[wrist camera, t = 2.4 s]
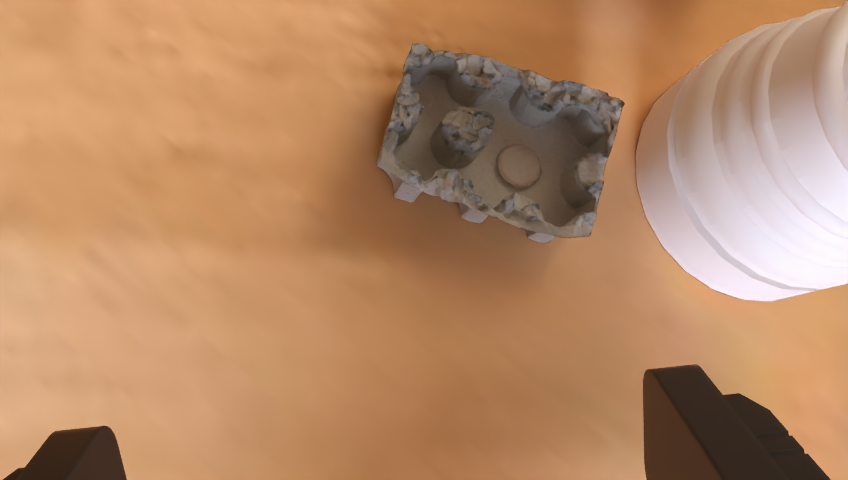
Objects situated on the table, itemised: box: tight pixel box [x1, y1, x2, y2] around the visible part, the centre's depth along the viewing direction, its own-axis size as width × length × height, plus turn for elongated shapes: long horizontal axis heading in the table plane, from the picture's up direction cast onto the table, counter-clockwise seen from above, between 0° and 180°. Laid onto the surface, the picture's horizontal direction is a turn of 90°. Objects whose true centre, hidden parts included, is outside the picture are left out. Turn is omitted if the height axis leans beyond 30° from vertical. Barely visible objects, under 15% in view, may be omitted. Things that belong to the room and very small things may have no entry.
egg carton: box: [376, 44, 625, 243], centre depth 37 cm, size 11×8×4 cm
